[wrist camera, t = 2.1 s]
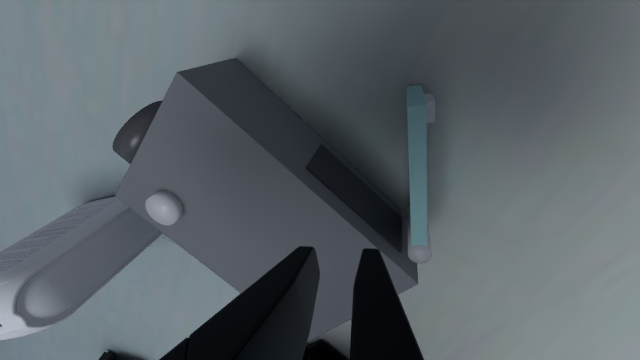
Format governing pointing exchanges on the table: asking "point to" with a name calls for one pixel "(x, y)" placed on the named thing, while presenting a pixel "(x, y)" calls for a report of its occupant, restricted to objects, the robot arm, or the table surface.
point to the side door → (418, 171)
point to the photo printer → (67, 264)
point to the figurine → (107, 356)
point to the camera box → (256, 188)
